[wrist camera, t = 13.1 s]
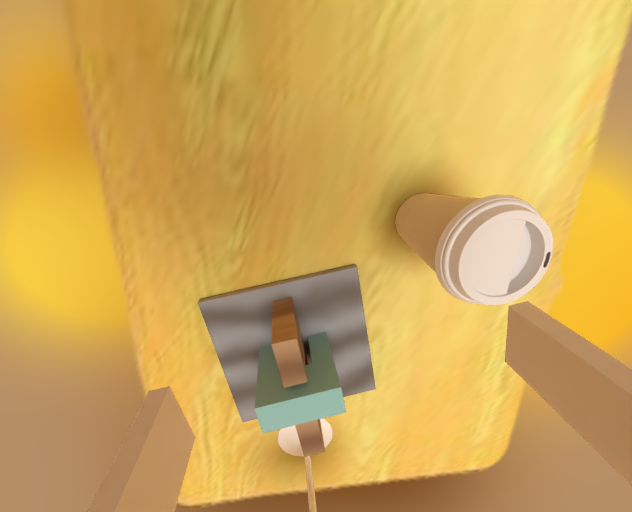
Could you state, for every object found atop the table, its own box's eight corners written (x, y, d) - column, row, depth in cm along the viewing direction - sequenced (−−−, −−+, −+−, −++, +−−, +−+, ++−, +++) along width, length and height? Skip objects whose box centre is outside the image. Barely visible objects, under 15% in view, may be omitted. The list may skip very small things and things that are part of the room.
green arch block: (259, 347, 39) (254, 408, 30) (325, 331, 40) (341, 387, 31) (266, 368, 41) (263, 433, 31) (330, 352, 41) (346, 412, 32)
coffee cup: (431, 265, 40) (516, 327, 26) (369, 239, 37) (426, 292, 23) (470, 199, 37) (587, 228, 23) (406, 166, 35) (494, 177, 21)
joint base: (199, 299, 37) (174, 348, 28) (355, 264, 38) (380, 300, 29) (243, 416, 44) (234, 487, 35) (373, 384, 45) (398, 444, 36)
